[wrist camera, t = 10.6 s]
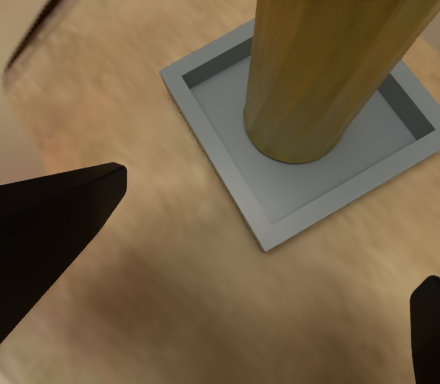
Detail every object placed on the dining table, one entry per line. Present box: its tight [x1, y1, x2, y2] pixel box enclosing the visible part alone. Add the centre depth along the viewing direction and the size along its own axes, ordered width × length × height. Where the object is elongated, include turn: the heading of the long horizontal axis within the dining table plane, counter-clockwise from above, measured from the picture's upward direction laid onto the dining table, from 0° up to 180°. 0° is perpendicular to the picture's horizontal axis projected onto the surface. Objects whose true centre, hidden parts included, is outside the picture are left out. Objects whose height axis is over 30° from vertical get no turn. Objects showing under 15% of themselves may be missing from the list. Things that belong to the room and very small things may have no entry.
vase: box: [243, 0, 440, 164], centre depth 10 cm, size 6×6×14 cm
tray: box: [159, 18, 440, 252], centre depth 17 cm, size 12×12×2 cm
